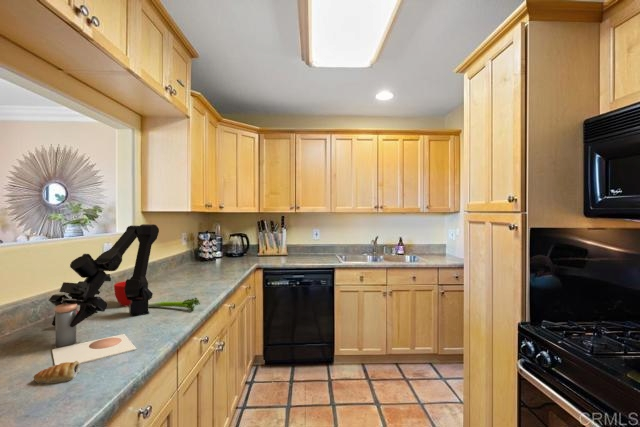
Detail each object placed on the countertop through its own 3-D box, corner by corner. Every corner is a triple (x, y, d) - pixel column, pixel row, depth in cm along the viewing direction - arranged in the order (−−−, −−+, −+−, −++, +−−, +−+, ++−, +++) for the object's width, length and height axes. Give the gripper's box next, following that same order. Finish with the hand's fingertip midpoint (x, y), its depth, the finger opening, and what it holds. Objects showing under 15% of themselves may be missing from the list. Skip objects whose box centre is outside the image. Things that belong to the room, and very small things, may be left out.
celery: (146, 309, 153) (203, 307, 148) (135, 315, 147) (195, 314, 141) (144, 296, 153) (202, 294, 148) (133, 302, 146) (193, 301, 141)
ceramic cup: (134, 297, 166) (134, 278, 166) (150, 303, 156) (150, 282, 156) (105, 303, 155) (105, 282, 155) (121, 309, 145) (121, 287, 145)
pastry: (28, 388, 80) (28, 373, 80) (40, 375, 86) (40, 361, 86) (73, 381, 84) (74, 366, 84) (82, 369, 90) (82, 356, 90)
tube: (75, 339, 111) (76, 302, 111) (77, 344, 106) (78, 305, 106) (54, 344, 107) (54, 305, 107) (55, 349, 102) (55, 309, 102)
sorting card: (124, 334, 115) (124, 333, 115) (136, 349, 103) (136, 348, 103) (52, 350, 102) (52, 349, 102) (55, 370, 89) (55, 368, 89)
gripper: (54, 271, 112) (19, 312, 101) (100, 273, 109) (70, 315, 98) (75, 288, 120) (44, 328, 109) (118, 291, 117) (92, 332, 106)
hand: (62, 326), depth 105 cm, fingers open, 7 cm apart
